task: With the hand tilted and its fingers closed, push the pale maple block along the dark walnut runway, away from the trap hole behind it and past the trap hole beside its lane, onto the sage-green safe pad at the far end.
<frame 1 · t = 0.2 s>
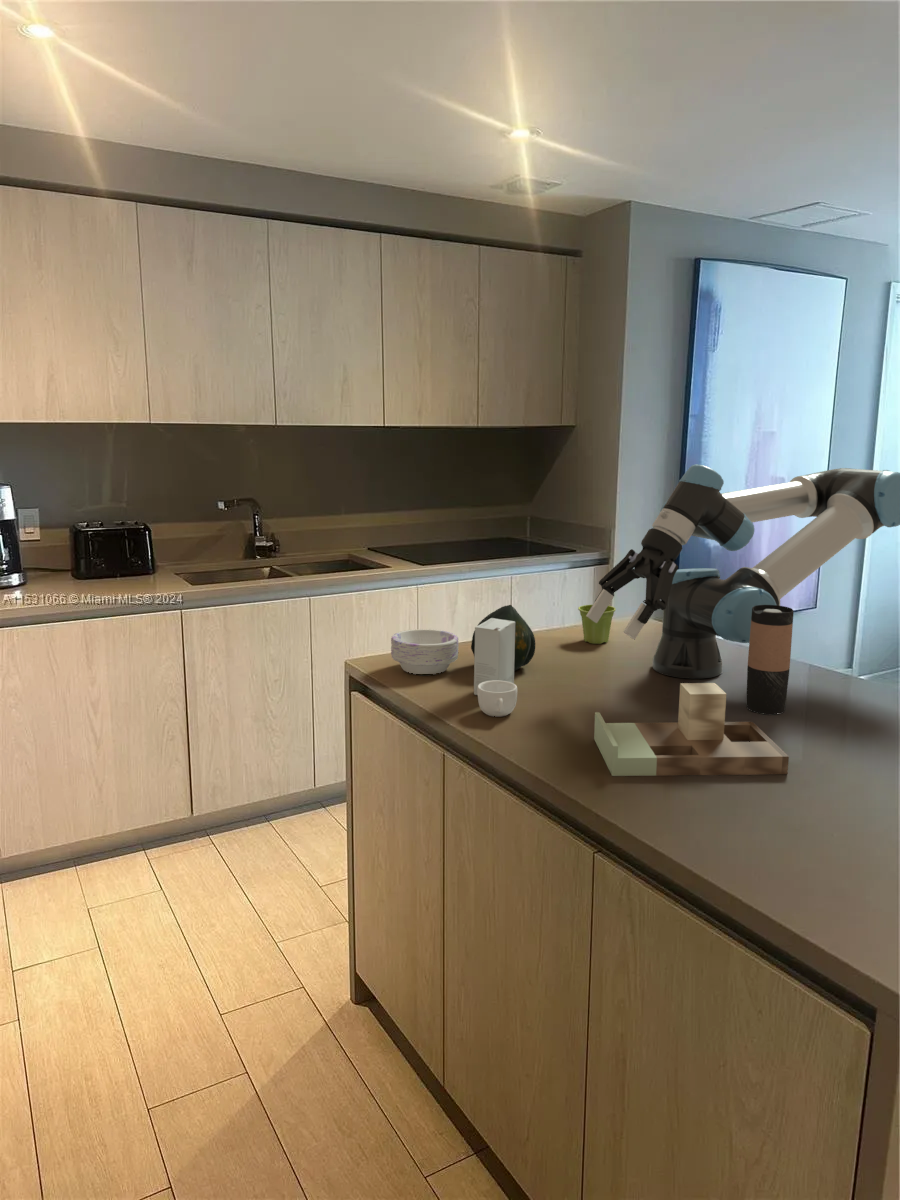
hand: (609, 627, 169), 15 cm above the counter, tool tilted 35°, fingers open, 13 cm apart
maple block: (700, 733, 146), point 3 cm above the counter, touching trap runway
skincare box: (494, 693, 179), on the counter
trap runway: (685, 755, 144), on the counter
plant pot: (595, 642, 219), on the counter
teacup: (497, 715, 165), on the counter
paper bowls: (425, 670, 195), on the counter
travel mug: (765, 709, 168), on the counter
squash: (502, 668, 196), on the counter
safe pad: (623, 756, 144), on the counter
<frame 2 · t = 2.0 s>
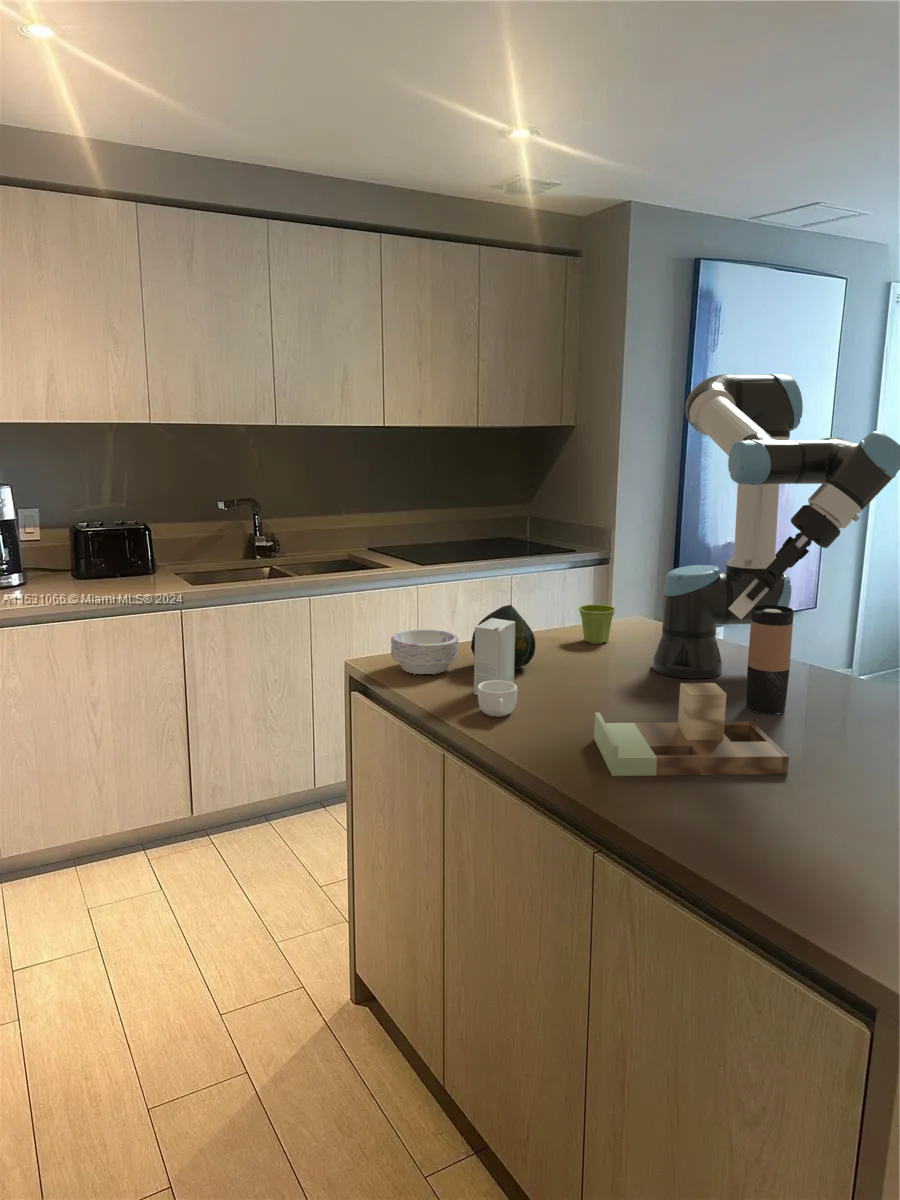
hand: (735, 613, 146), 23 cm above the counter, tool tilted 40°, fingers open, 13 cm apart
nothing on the counter moved.
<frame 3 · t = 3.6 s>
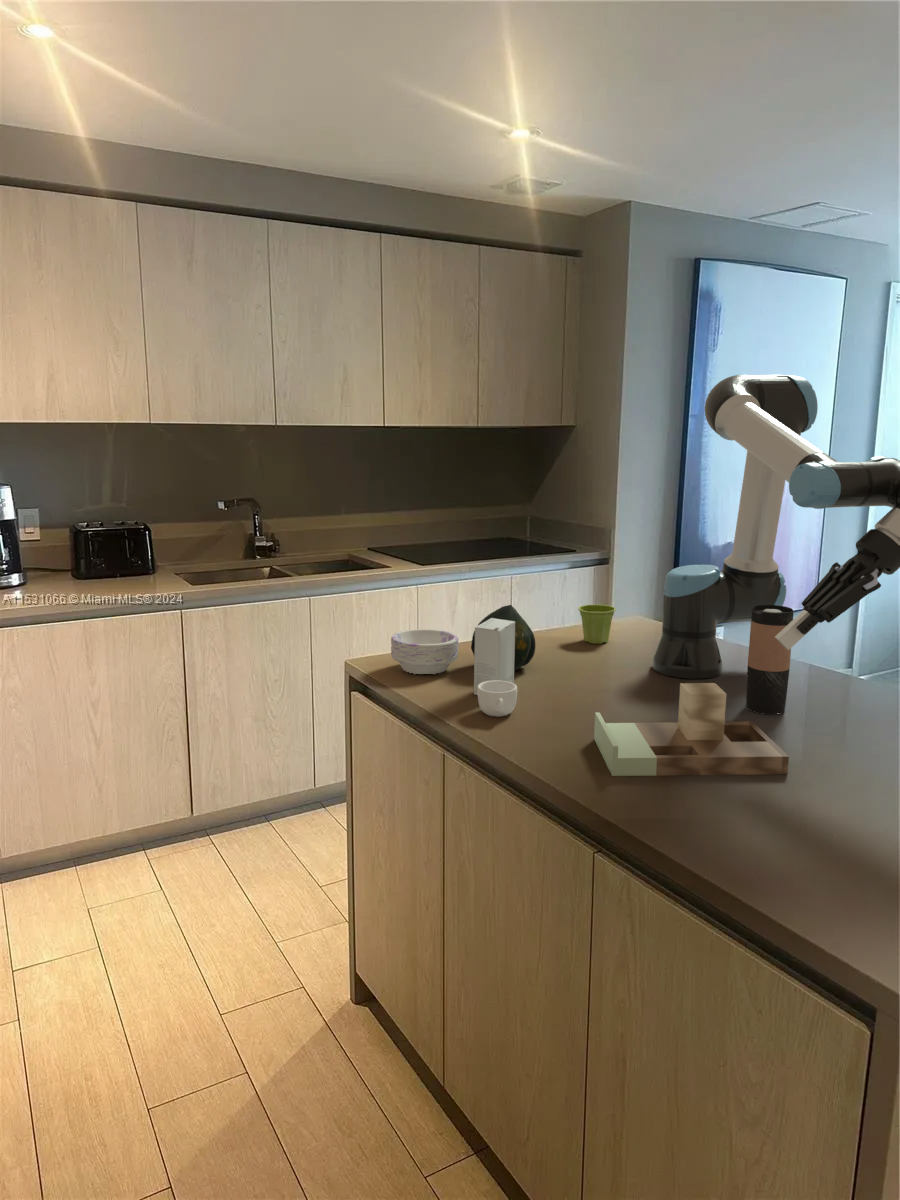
hand: (781, 643, 143), 19 cm above the counter, tool tilted 45°, fingers closed
nothing on the counter moved.
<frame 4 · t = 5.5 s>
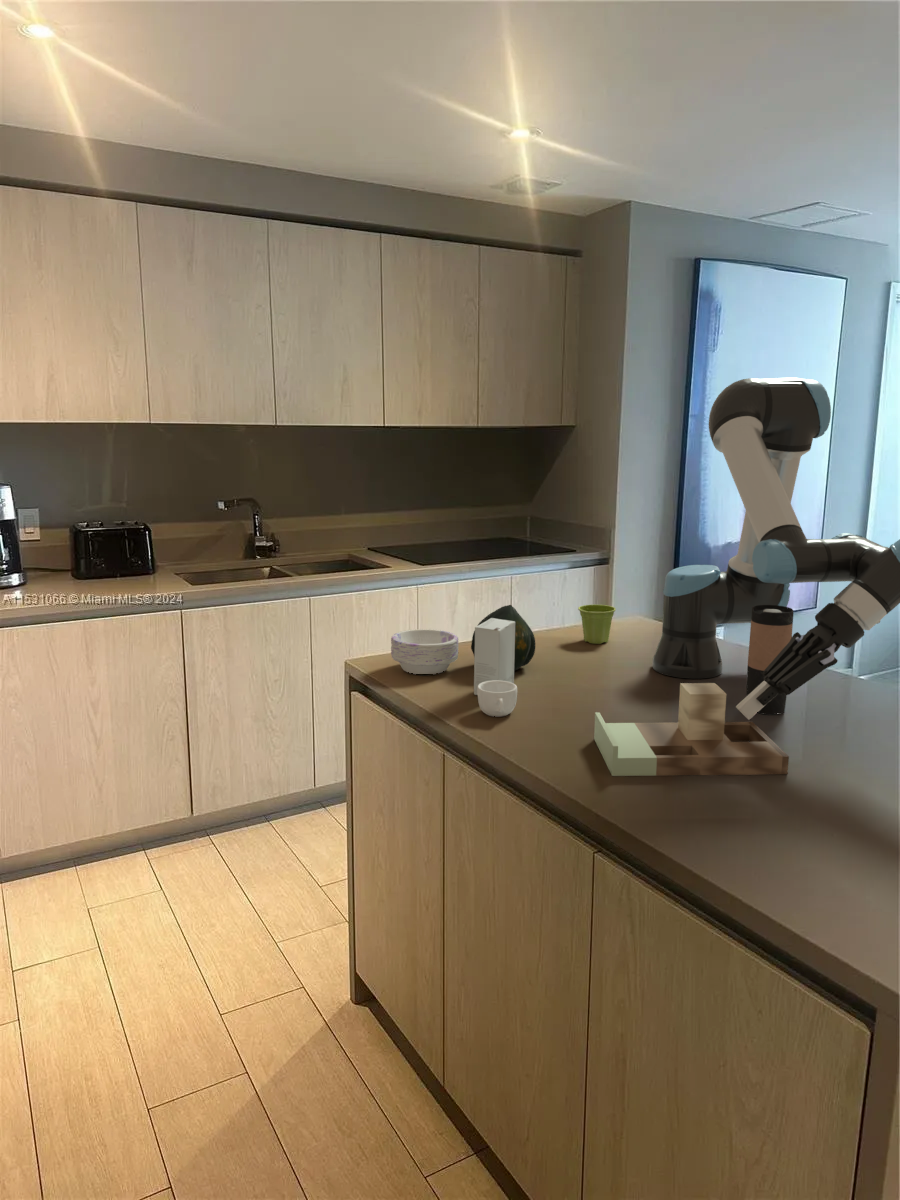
hand: (742, 713, 146), 7 cm above the counter, tool tilted 45°, fingers closed
nothing on the counter moved.
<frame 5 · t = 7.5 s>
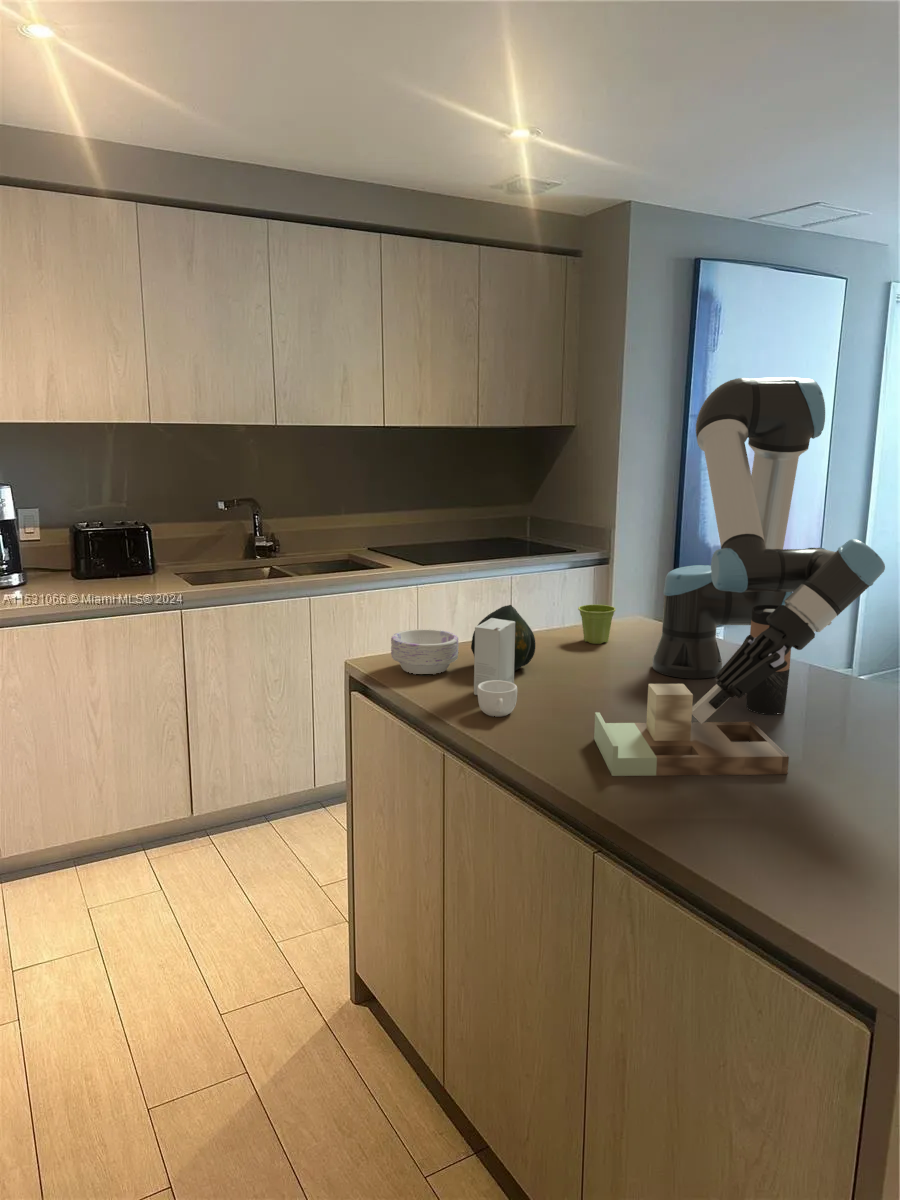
hand: (695, 717, 145), 6 cm above the counter, tool tilted 45°, fingers closed
maple block: (667, 734, 146), point 3 cm above the counter, touching gripper, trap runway
everything else where it was.
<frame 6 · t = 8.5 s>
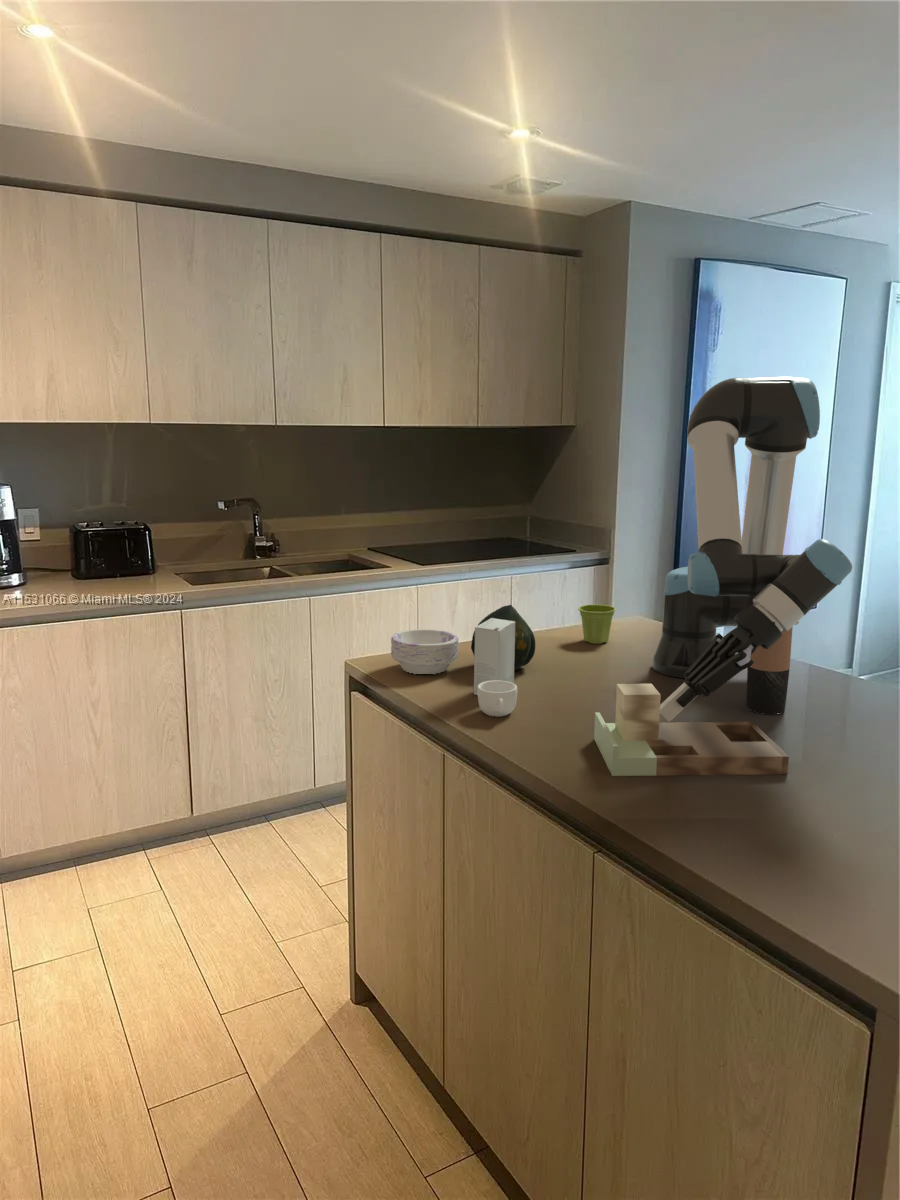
hand: (662, 715, 145), 6 cm above the counter, tool tilted 45°, fingers closed
maple block: (636, 734, 146), point 3 cm above the counter, touching gripper
everything else where it was.
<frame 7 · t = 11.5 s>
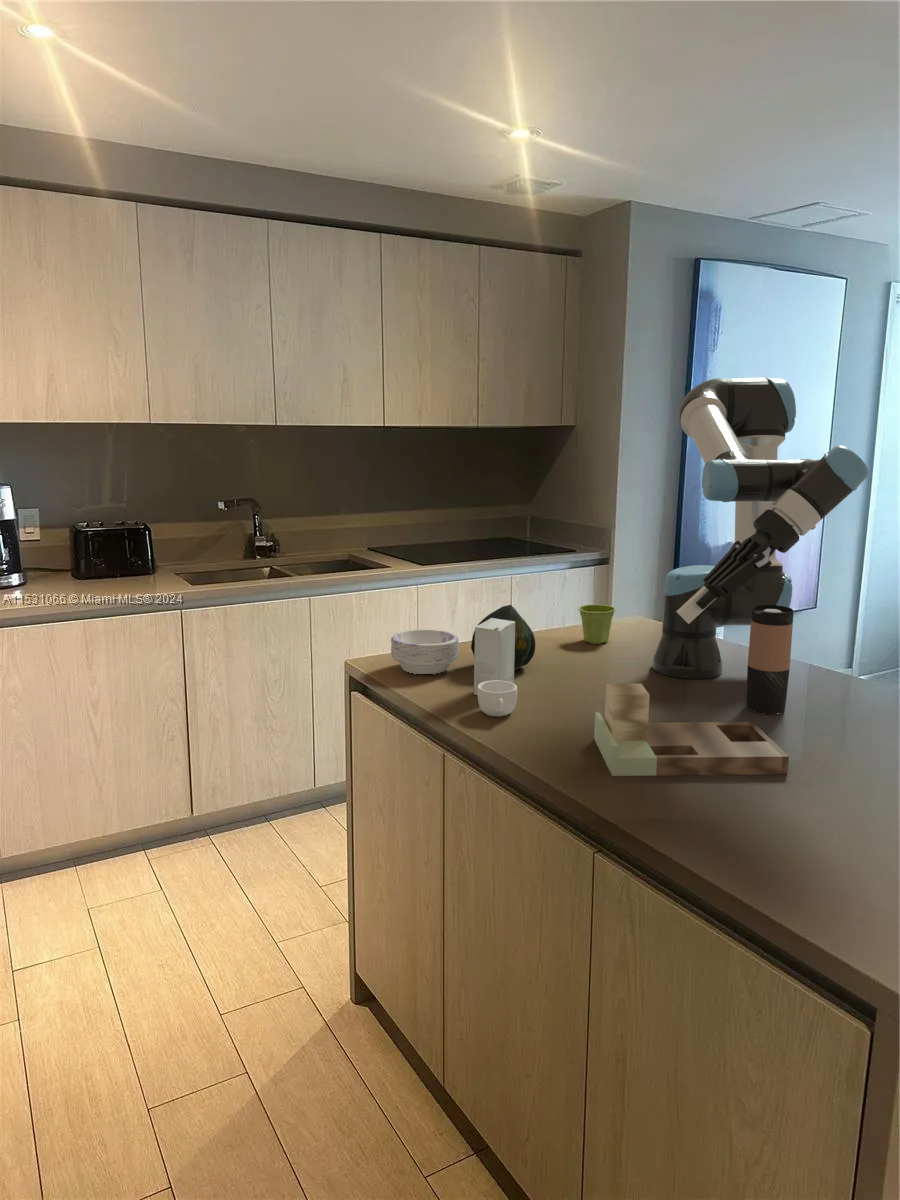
hand: (682, 617, 151), 21 cm above the counter, tool tilted 45°, fingers closed
maple block: (625, 733, 146), point 3 cm above the counter, touching safe pad, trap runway
everything else where it was.
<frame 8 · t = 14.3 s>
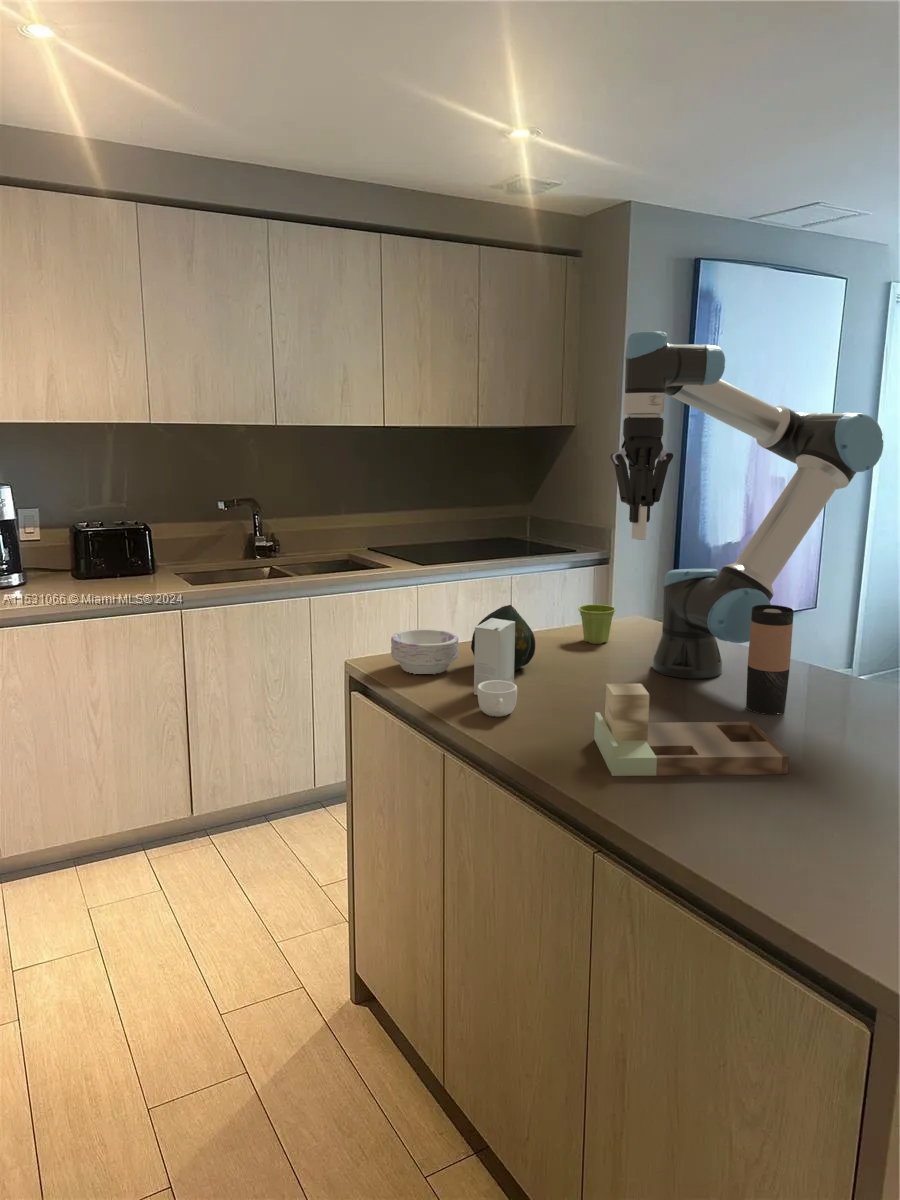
hand: (638, 539, 169), 32 cm above the counter, tool pointing down, fingers closed
nothing on the counter moved.
at the end: maple block 2.7 cm from the safe pad (horizontally); maple block point 3.0 cm above the counter; maple block tilted 0° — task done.
